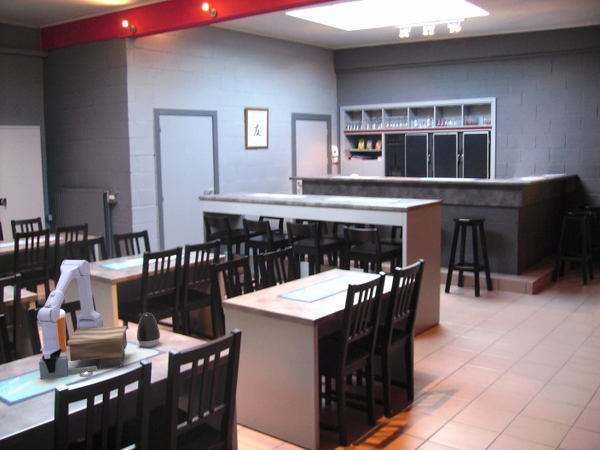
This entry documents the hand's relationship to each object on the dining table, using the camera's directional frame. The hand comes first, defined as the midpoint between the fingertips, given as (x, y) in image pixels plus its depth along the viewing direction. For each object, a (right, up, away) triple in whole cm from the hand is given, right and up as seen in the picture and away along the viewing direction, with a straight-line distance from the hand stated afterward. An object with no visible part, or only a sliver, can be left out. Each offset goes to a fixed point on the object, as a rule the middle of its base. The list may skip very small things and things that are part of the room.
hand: (53, 370), depth 247 cm
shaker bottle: (-10, +1, +31) cm, 33 cm away
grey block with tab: (+6, -2, +2) cm, 6 cm away
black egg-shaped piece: (+29, +3, +35) cm, 46 cm away
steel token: (+13, -2, +1) cm, 13 cm away
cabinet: (+14, 0, +14) cm, 20 cm away
